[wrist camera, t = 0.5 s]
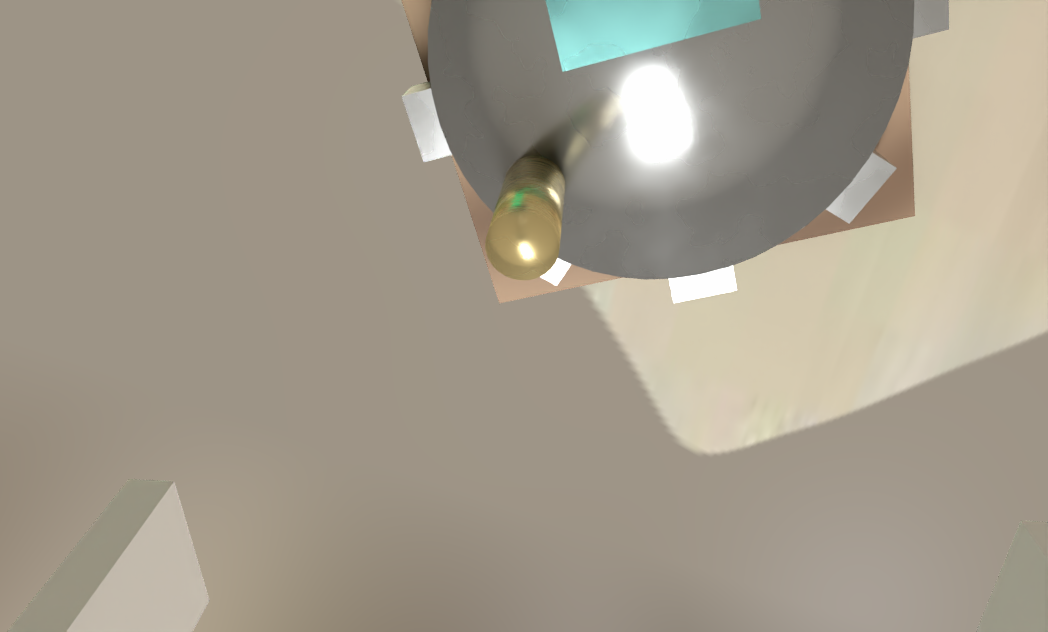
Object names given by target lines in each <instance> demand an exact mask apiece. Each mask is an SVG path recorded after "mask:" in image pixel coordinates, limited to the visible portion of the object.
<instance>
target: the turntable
mask: <svg viewBox="0 0 1048 632" xmlns="http://www.w3.org/2000/svg"><path fill="white" fill-rule="evenodd" d="M948 29H949V4H948V0H432V1H431V10H430V18H429V26H428V68H429V76H430V81H429V82H425V83H422V84H418V85H414V86H411V87H410V88H409V89H408V90H407V91H406V92H405V94H403V95H402V100H403V103H404V105H405V108H406V111H407V114H408V117H409V120H410V123H411V126H412V129H413V132H414V135H415V138H416V141H417V143H418V146H419V149H420V152H421V155H422V158H423V161H424V162H426V161H429V160H434V159H438V158H441V157H445V156H449V155H453V157H454V159H455V161H456V162H457V164H458V166H459V168H460V170H461V172H462V173H463V175H464V177H465V178H466V180H467V181H468V182H469V184H470V185H471V187H472V188H473V189H474V191H475V192H476V193H477V195H478V196H479V198H480V199H481V200H482V201H483V202H484V203H485V204H486V205H487V207H488V208H489V209H490V210H491V211H492V212H493V213H494V214H493V217H492V220H491V223H490V227H489V230H488V233H487V236H486V241H485V248H486V253H487V256H488V259H489V261H490V263H491V264H492V265H493V267H494V268H495V269H496V270H497V271H499V272H500V273H501V274H503V275H504V276H507V277H509V278H512V279H516V280H532V279H536V278H538V277H542V278H543V279H545V280H547V281H549V282H551V283H552V284H554V285H556V286H557V285H558V283H559V282H560V280H561V279H562V277H563V276H564V274H565V273H566V271H567V270H568V268H569V267H570V265H571V264H572V265H575V266H578V267H581V268H584V269H587V270H590V271H593V272H598V273H602V274H607V275H612V276H617V277H625V278H637V279H669V282H670V287H671V292H672V297H673V302H674V303H676V302H681V301H686V300H691V299H696V298H701V297H706V296H711V295H716V294H721V293H726V292H731V291H736V290H737V288H736V281H735V275H734V269H733V265H735V264H738V263H740V262H743V261H745V260H748V259H750V258H753V257H755V256H757V255H759V254H761V253H763V252H765V251H767V250H769V249H770V248H772V247H774V246H776V245H778V244H780V243H782V242H783V241H785V240H786V239H788V238H789V237H791V236H792V235H793V234H795V233H796V232H798V231H799V230H801V229H802V228H804V227H805V226H807V225H808V224H809V223H810V222H811V221H812V220H814V219H815V218H816V217H817V216H818V215H819V214H821V213H822V212H823V211H824V210H825V209H826V210H828V211H829V212H831V213H833V214H834V215H836V216H837V217H839V218H841V219H842V220H844V221H846V222H847V223H849V224H850V222H851V221H852V220H853V219H854V218H855V217H856V215H857V214H858V213H859V212H860V211H861V210H862V208H863V207H864V206H865V205H866V204H867V203H868V201H869V200H870V199H871V198H872V197H873V196H874V194H875V193H876V192H877V191H878V190H879V189H880V187H881V186H882V185H883V184H884V183H885V182H886V180H887V179H888V178H889V177H890V176H891V175H892V173H893V172H894V171H895V170H896V169H897V168H896V167H895V166H894V165H893V164H892V163H890V162H889V161H888V160H887V159H886V158H885V157H884V156H882V155H881V154H880V153H878V152H877V151H875V150H874V149H875V147H876V145H877V144H878V142H879V140H880V138H881V137H882V135H883V133H884V131H885V130H886V128H887V125H888V123H889V121H890V118H891V116H892V114H893V111H894V109H895V107H896V104H897V102H898V100H899V96H900V93H901V89H902V86H903V83H904V79H905V76H906V72H907V69H908V64H909V58H910V52H911V46H912V39H913V38H916V37H920V36H924V35H928V34H932V33H936V32H940V31H944V30H948Z"/></svg>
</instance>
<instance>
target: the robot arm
mask: <svg viewBox="0 0 1048 632" xmlns="http://www.w3.org/2000/svg"><path fill="white" fill-rule="evenodd" d="M208 602H209V597H208V594H207V591H206V588H205V584H204V580H203V577H202V574H201V570H200V567H199V563H198V560H197V557H196V553H195V550H194V547H193V543H192V540H191V536H190V533H189V529H188V526H187V523H186V520H185V516H184V512H183V509H182V506H181V502H180V499H179V496H178V492H177V489H176V485H175V482H174V481H158V480H157V481H156V480H137V479H129V480H128V481H127V482H126V484H125V485H124V486H123V487H122V489H121V490H120V491H119V492H118V494H117V495H116V496H115V497H114V498H113V500H112V501H111V502H110V503H109V505H108V506H107V507H106V508H105V510H104V511H103V512H102V513H101V515H100V516H99V517H98V518H97V520H96V521H95V522H94V523H93V525H92V526H91V527H90V528H89V530H88V531H87V532H86V533H85V535H84V536H83V537H82V538H81V540H80V541H79V542H78V543H77V545H76V546H75V547H74V548H73V550H72V551H71V552H70V554H69V555H68V556H67V557H66V558H65V560H64V561H63V562H62V563H61V565H60V566H59V567H58V568H57V570H56V571H55V572H54V574H53V575H52V576H51V577H50V578H49V580H48V581H47V583H45V585H44V586H43V587H42V588H41V590H40V591H39V592H38V593H37V595H36V596H35V597H34V599H33V600H32V601H31V602H30V603H29V605H28V606H27V607H26V609H25V610H24V611H23V612H22V614H21V615H20V616H19V617H18V619H17V620H16V621H15V622H14V624H13V625H12V626H11V627H10V628H9V630H8V631H7V632H193V629H194V628H195V626H196V624H197V622H198V620H199V619H200V617H201V615H202V613H203V611H204V610H205V607H206V606H207V604H208ZM976 632H1048V522H1038V521H1021V522H1020V525H1019V527H1018V529H1017V532H1016V534H1015V537H1014V539H1013V542H1012V544H1011V547H1010V549H1009V551H1008V554H1007V557H1006V559H1005V561H1004V564H1003V567H1002V569H1001V571H1000V574H999V576H998V579H997V581H996V584H995V587H994V589H993V591H992V594H991V596H990V598H989V601H988V603H987V606H986V608H985V611H984V613H983V616H982V618H981V621H980V623H979V626H978V629H977V631H976Z"/></svg>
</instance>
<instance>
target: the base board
mask: <svg viewBox="0 0 1048 632" xmlns="http://www.w3.org/2000/svg"><path fill="white" fill-rule="evenodd" d="M431 1H432V0H402V3H403V6H404V9H405V12H406V15H407V18H408V21H409V25H410V28H411V31H412V34H413V37H414V40H415V43H416V46H417V50H418V53H419V56H420V59H421V62H422V65H423V68H424V71H425V74H426V77H427V81H428V82H429V81H430V76H429V68H428V26H429V18H430V10H431ZM874 150H875V151H877V152H878V153H880V154H881V155H882V156H884V157H885V158H886V159H887V160H888V161H889V162H890V163H892V164H893V165H894V166H895V167H896V168H897V169H896V170H895V171H894V172H893V173H892V175H891V176H890V177H889V178H888V179H887V180H886V182H885V183H884V184H883V185H882V186H881V187H880V189H879V190H878V191H877V192H876V193H875V194H874V196H873V197H872V198H871V199H870V200H869V201H868V203H867V204H866V205H865V206H864V207H863V208H862V210H861V211H860V212H859V213H858V214H857V215H856V217H855V218H854V219H853V220H852V221H851V222H850V224H849V223H847V222H846V221H844V220H842V219H841V218H839V217H837V216H836V215H834V214H833V213H831V212H829V211H828V210H826V209H825V210H824V211H823V212H822V213H821V214H819V215H818V216H817V217H816V218H815V219H814V220H812V221H811V222H810V223H809V224H808V225H807V226H805V227H804V228H802V229H801V230H799V231H798V232H796V233H795V234H793V235H792V236H791V237H789V238H788V239H786V240H785V241H783V242H782V243H780V244H784V243H789V242H793V241H798V240H803V239H808V238H812V237H817V236H822V235H827V234H831V233H836V232H841V231H846V230H850V229H855V228H860V227H865V226H869V225H874V224H879V223H884V222H888V221H893V220H898V219H903V218H907V217H912V216H915V207H914V182H913V158H912V134H911V109H910V85H909V64H908V69H907V72H906V76H905V79H904V83H903V86H902V89H901V93H900V96H899V100H898V102H897V104H896V107H895V109H894V111H893V114H892V116H891V118H890V121H889V123H888V125H887V128H886V130H885V131H884V133H883V135H882V137H881V138H880V140H879V142H878V144H877V145H876V147H875V149H874ZM452 158H453V161H454V164H455V167H456V170H457V174H458V177H459V180H460V183H461V186H462V189H463V192H464V195H465V198H466V201H467V204H468V208H469V211H470V214H471V217H472V220H473V223H474V226H475V229H476V232H477V236H478V239H479V242H480V245H481V248H482V251H483V254H484V257H485V260H486V263H487V267H488V269H489V273H490V276H491V279H492V282H493V285H494V288H495V291H496V294H497V297H498V301H499V303H503V302H508V301H512V300H518V299H522V298H527V297H531V296H537V295H541V294H545V293H550V292H555V291H560V290H565V289H570V288H575V287H579V286H584V285H589V284H594V283H598V282H603V281H608V280H613V279H617V278H622V277H617V276H612V275H607V274H602V273H598V272H593V271H590V270H587V269H584V268H581V267H578V266H575V265H572V264H571V265H570V267H569V268H568V270H567V271H566V273H565V274H564V276H563V277H562V279H561V280H560V282H559V283H558V285H557V286H556V285H554V284H552V283H551V282H549V281H547V280H545V279H543V278H542V277H538V278H536V279H532V280H516V279H512V278H509V277H507V276H504V275H503V274H501V273H500V272H499V271H497V270H496V269H495V268H494V267H493V265H492V264H491V263H490V261H489V259H488V256H487V253H486V248H485V241H486V236H487V233H488V230H489V227H490V223H491V220H492V217H493V214H494V213H493V212H492V211H491V210H490V209H489V208H488V207H487V205H486V204H485V203H484V202H483V201H482V200H481V199H480V198H479V196H478V195H477V193H476V192H475V191H474V189H473V188H472V187H471V185H470V184H469V182H468V181H467V180H466V178H465V177H464V175H463V173H462V172H461V170H460V168H459V166H458V164H457V162H456V161H455V159H454V157H453V155H452ZM778 245H779V244H778Z"/></svg>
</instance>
